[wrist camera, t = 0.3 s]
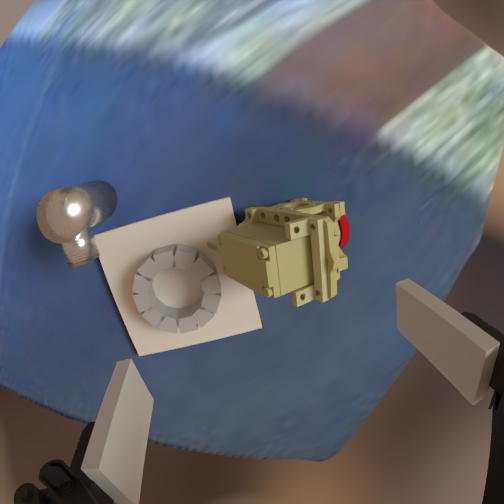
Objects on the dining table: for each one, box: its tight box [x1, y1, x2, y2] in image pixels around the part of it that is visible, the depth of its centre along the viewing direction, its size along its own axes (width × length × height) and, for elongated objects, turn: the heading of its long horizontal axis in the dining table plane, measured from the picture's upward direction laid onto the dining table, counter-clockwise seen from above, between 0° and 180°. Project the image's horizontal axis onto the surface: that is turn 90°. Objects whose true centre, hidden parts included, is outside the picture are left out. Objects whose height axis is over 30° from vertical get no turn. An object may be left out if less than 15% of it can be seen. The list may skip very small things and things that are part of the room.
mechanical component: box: [207, 198, 349, 307], centre depth 35 cm, size 8×17×20 cm, turn 98°
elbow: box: [37, 181, 117, 268], centre depth 31 cm, size 8×5×12 cm, turn 13°
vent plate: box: [94, 196, 262, 356], centre depth 39 cm, size 18×18×4 cm
